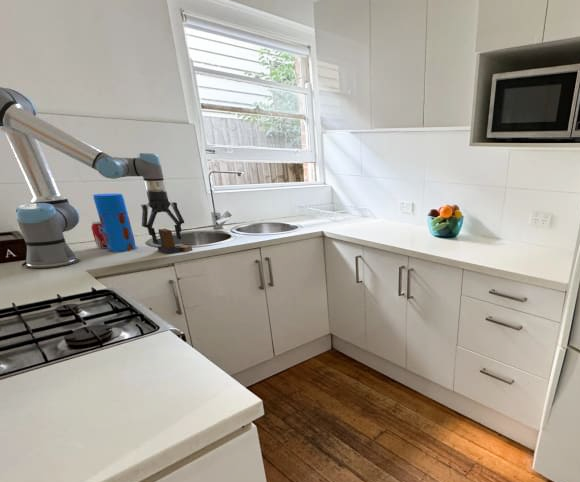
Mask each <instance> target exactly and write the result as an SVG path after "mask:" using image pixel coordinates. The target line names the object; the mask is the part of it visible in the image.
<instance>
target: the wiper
mask: <svg viewBox="0 0 580 482" xmlns="http://www.w3.org/2000/svg"><path fill="white" fill-rule="evenodd" d="M157 231H158V235H159V239H160V243H161V245H159V246H157V251H159V252H160V253H163V254H165V255H170V254H176V253H181V252H182V251H180V248H179V247H176V246H175V245H176V244H175V241H174V240H175V239H174V236H173V232H172V230H171V229H167V228H157Z"/></svg>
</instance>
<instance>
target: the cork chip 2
mask: <svg viewBox="0 0 580 482" xmlns="http://www.w3.org/2000/svg"><path fill="white" fill-rule="evenodd" d="M179 248H180V251H181V252H184V253H186V252H190V251H192V250H193V246H192V245H186V244H184V246H180V247H179Z"/></svg>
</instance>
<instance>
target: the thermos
mask: <svg viewBox="0 0 580 482" xmlns="http://www.w3.org/2000/svg"><path fill="white" fill-rule="evenodd" d="M92 197H93V201H94V204H95V208H96V210H97V212H96V213H97V215H98V218H99V221H100V222H101V226H102V229H103V233H104V236H105V239H106V243H107V246H108V248H107V249H108V251H109V252H117V253H118V252H127V251H133V250H136V249H137V245H136V240H135V237H134V233H133V229H132V224H131V221H130V216H129V214H128V209H127V206H126V202H125V198H124V195H123V193H115V192H114V193H96V194H92Z"/></svg>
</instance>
